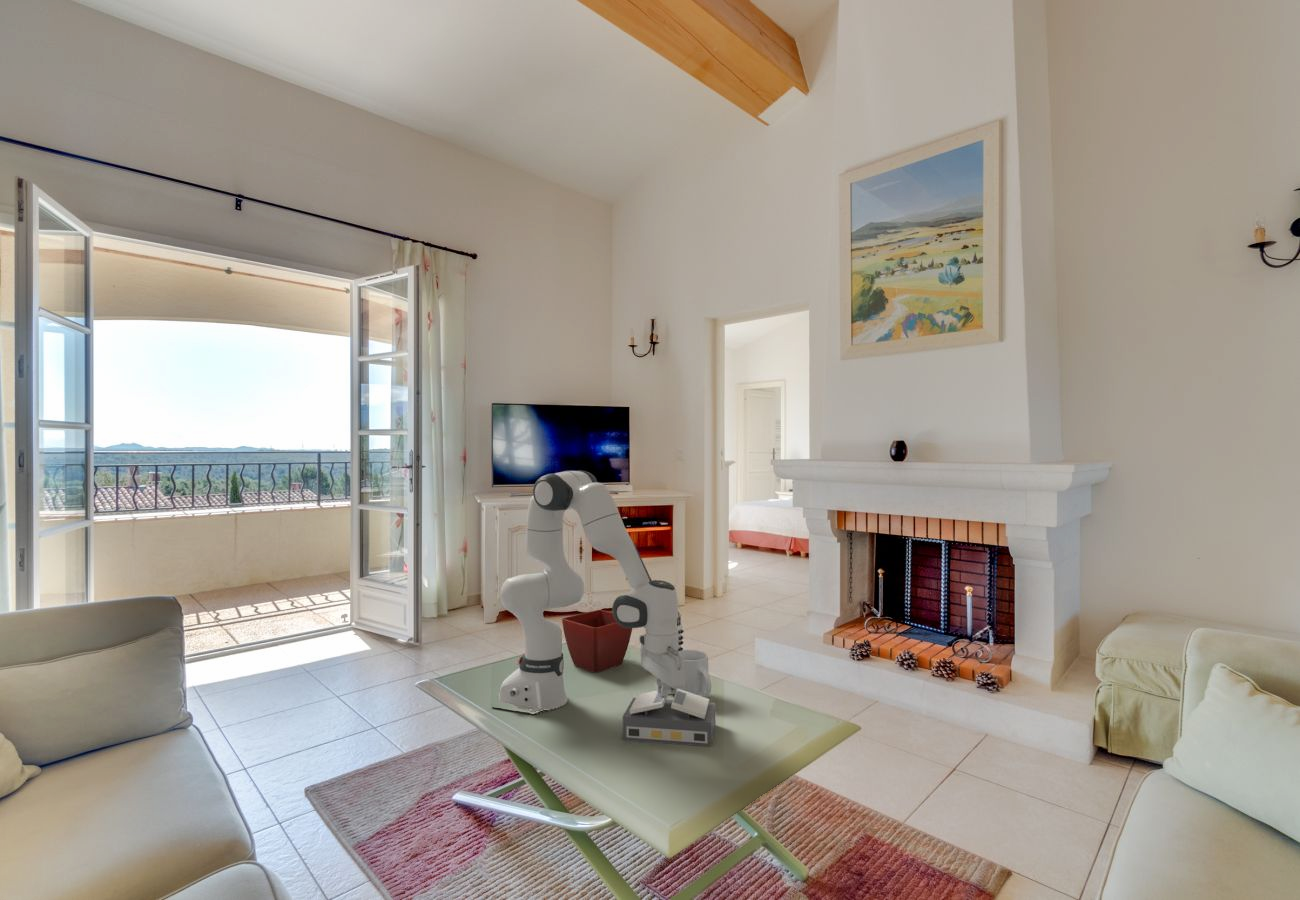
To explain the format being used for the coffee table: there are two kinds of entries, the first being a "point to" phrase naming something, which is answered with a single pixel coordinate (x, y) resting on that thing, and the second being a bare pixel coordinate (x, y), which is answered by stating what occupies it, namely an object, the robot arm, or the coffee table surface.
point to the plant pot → (596, 640)
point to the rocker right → (690, 703)
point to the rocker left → (648, 702)
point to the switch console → (669, 726)
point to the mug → (696, 672)
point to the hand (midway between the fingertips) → (662, 694)
